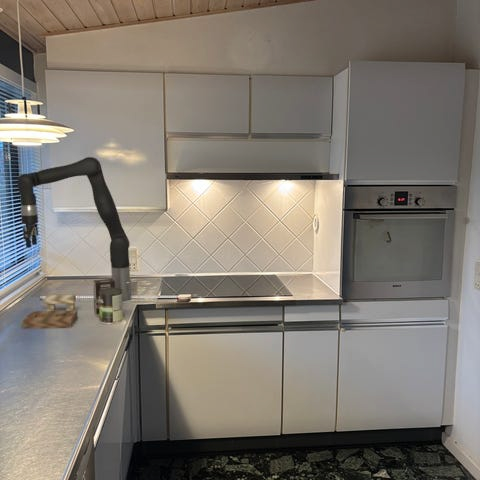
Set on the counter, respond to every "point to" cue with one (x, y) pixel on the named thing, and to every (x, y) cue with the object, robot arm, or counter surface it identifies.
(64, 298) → the beige wooden plank
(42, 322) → the brown slotted wooden block
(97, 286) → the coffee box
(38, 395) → the counter surface
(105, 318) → the coffee can
